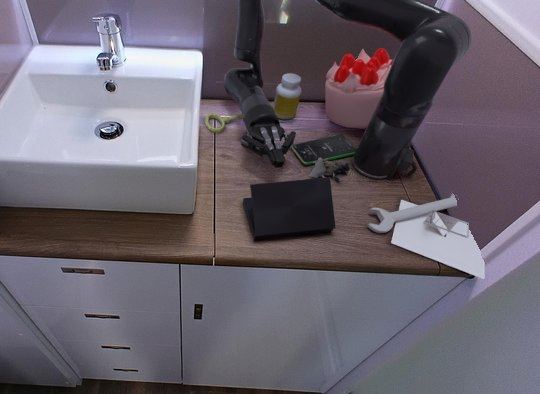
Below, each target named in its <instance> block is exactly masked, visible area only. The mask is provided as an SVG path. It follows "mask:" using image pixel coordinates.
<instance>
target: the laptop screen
mask: <svg viewBox="0 0 540 394" xmlns="http://www.w3.org/2000/svg"><path fill="white" fill-rule="evenodd" d="M331 183H332V182H331V177H330V176H328V177H325V178H323V177H318V178H307V179H306V178H305V179H296V180H294V179H293V180H284V181H273V182H262V183H251V184H250V185H249V187H250V197H251V198H252V208H253V218H254V228H255V236H262V235H271V234H281V233H291V232H300V231H310V230H319V229H329V228H333V229H336V220H335V211H334V202H333V193H332V184H331Z"/></svg>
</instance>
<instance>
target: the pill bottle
mask: <svg viewBox="0 0 540 394" xmlns="http://www.w3.org/2000/svg"><path fill="white" fill-rule="evenodd" d="M301 82H302V77H301V76H300V75H298V74H297V73H292V72H289V73H285V74H284V73H283V75H282V76H281V83H279V84H278V85H277V86H276V89H275V93H274V99H273V104H272V108H273V110H274V112H275V114H276V116H277V118H278V120H279V123H280V122H281V123H289V122H291V121H293V120H294V119H295V117H296V114H297V111H298V106H299V103H300V99H301V96H302V88H301V85H300V84H301Z"/></svg>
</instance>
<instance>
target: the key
mask: <svg viewBox="0 0 540 394" xmlns="http://www.w3.org/2000/svg"><path fill="white" fill-rule="evenodd" d="M210 119H216V120H218V121H219V123H220V124H221V126H220V127H213V126H212V125H211V124H210V122H209V120H210ZM240 119H242V114H241V113H237V114H234V115H231V116H227V115H225V116H224V117H222V116H221V115H220V114H219V113H215V112H213V113H209V114H207V115H206V116H205V119H204V124H205V126H206V127H207V129H208V130H209V131H211V132H212V133H215V134H219V133H222V132H223V131H225V128H226V124H229V122H232V121H236V120H240Z"/></svg>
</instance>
